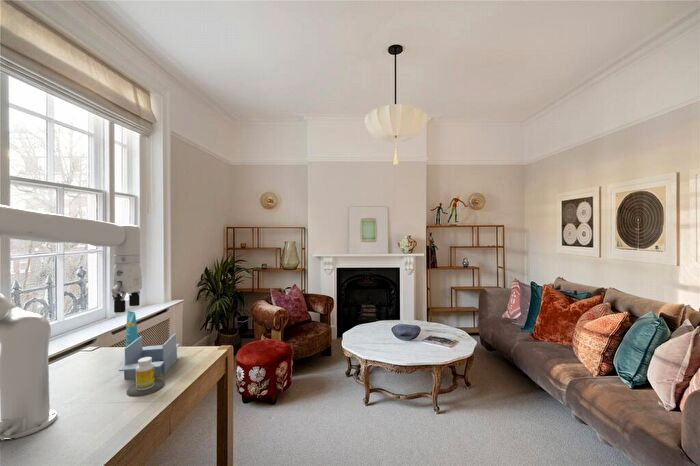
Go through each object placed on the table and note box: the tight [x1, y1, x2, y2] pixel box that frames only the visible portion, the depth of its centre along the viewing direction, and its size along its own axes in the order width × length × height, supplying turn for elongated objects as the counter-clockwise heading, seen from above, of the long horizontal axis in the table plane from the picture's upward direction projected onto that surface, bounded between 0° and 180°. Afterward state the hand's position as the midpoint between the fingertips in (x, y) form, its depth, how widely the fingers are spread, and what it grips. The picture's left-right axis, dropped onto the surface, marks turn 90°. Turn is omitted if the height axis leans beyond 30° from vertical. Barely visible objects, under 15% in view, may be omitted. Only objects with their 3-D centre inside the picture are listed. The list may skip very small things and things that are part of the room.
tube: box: [125, 310, 139, 348], centre depth 139 cm, size 7×5×19 cm, turn 60°
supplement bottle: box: [135, 357, 156, 390], centre depth 109 cm, size 5×5×10 cm
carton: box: [118, 332, 180, 380], centre depth 125 cm, size 23×13×11 cm, turn 12°
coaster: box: [126, 378, 166, 397], centre depth 109 cm, size 11×11×1 cm
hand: (127, 308), depth 112 cm, fingers open, 9 cm apart
